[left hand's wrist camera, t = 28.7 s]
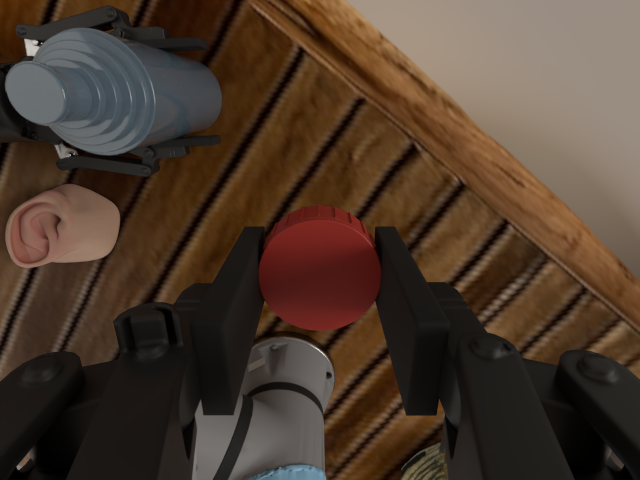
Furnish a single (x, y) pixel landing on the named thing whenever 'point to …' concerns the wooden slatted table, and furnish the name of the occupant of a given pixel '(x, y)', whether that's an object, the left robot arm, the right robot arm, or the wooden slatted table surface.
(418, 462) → the fossil
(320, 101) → the wooden slatted table surface
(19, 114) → the right robot arm
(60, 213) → the anatomical model
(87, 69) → the bottle
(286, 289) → the cap
